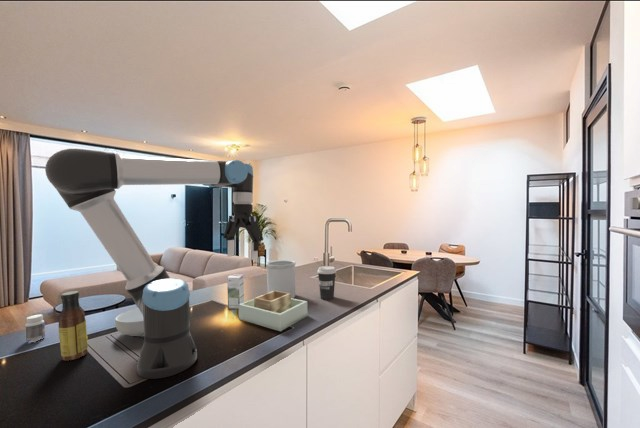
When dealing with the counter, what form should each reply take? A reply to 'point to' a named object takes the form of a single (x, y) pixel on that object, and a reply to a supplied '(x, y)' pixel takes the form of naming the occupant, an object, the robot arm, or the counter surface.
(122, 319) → the cereal bowl
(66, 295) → the sauce bottle
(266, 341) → the counter surface
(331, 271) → the coffee cup
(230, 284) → the syrup box
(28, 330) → the pill bottle
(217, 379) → the counter surface
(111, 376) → the counter surface
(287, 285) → the utensil holder
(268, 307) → the small wooden crate
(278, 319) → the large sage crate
